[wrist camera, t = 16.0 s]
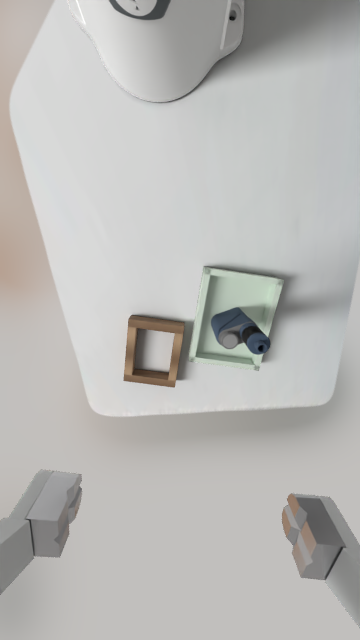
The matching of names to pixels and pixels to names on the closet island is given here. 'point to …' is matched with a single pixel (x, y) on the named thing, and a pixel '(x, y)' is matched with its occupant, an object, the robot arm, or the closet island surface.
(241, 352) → the tray
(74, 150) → the closet island surface
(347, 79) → the closet island surface
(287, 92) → the closet island surface
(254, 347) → the vaping device
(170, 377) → the holder
